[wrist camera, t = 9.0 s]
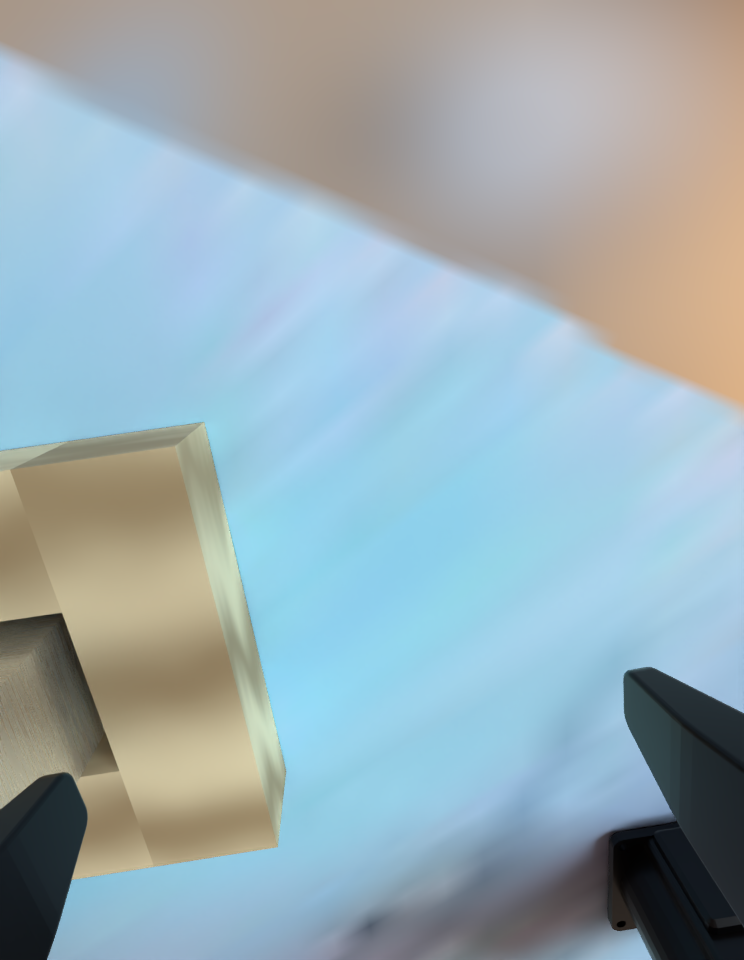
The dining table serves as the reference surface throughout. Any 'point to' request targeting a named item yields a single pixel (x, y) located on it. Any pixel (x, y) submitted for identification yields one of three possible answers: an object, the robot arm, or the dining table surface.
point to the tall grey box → (42, 705)
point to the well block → (148, 642)
